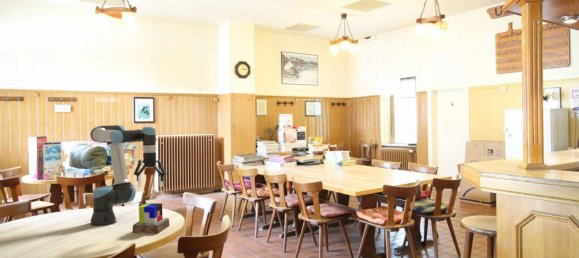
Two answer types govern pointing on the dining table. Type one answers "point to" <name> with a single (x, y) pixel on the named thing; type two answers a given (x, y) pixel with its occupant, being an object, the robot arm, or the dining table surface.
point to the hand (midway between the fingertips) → (150, 186)
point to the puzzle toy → (150, 213)
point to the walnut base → (151, 227)
